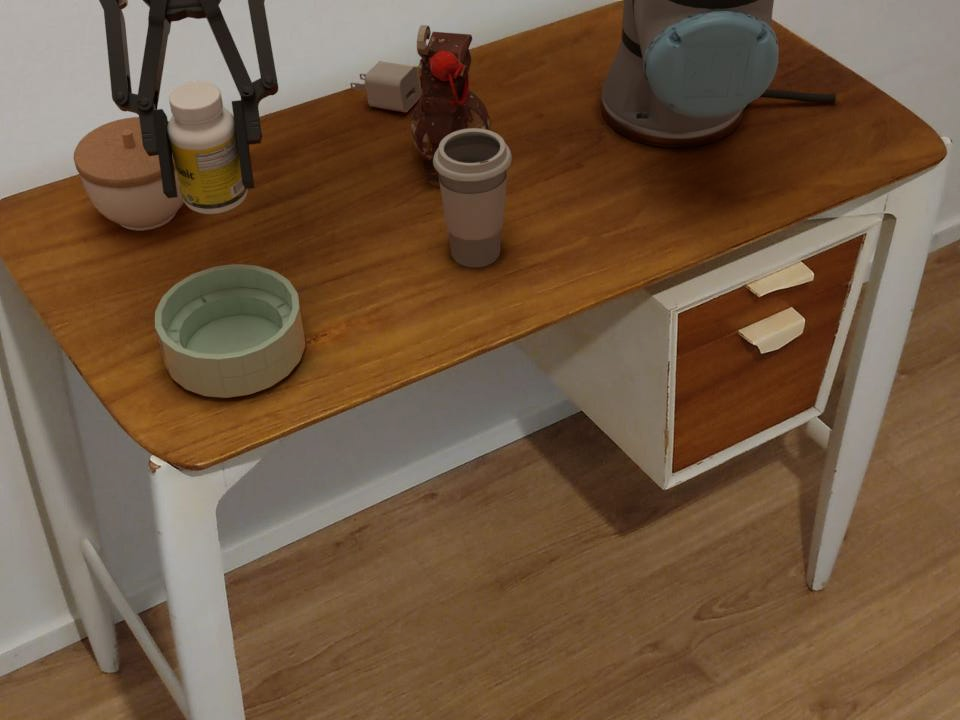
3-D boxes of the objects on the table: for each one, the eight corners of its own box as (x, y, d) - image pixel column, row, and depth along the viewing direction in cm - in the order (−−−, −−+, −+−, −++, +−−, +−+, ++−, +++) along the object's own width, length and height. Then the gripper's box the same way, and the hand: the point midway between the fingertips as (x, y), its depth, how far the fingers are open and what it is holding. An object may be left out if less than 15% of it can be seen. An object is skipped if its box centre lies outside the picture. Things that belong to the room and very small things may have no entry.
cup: (454, 283, 120) (449, 176, 112) (427, 242, 125) (420, 136, 117) (524, 262, 122) (524, 155, 114) (495, 223, 127) (493, 118, 119)
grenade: (479, 193, 130) (475, 61, 120) (401, 185, 132) (390, 54, 121) (498, 141, 137) (496, 11, 127) (423, 134, 138) (415, 5, 128)
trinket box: (177, 251, 125) (158, 170, 118) (73, 239, 127) (49, 158, 120) (216, 186, 132) (200, 106, 126) (117, 175, 134) (97, 97, 128)
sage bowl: (300, 298, 119) (293, 256, 116) (311, 390, 110) (304, 347, 107) (165, 316, 118) (155, 273, 114) (165, 411, 109) (154, 367, 106)
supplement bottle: (175, 187, 109) (152, 84, 102) (238, 171, 110) (220, 69, 103) (191, 223, 105) (168, 119, 98) (256, 206, 106) (238, 103, 100)
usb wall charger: (416, 63, 140) (421, 96, 143) (361, 55, 143) (367, 88, 146) (398, 81, 138) (404, 114, 140) (343, 73, 141) (349, 105, 143)
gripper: (289, -93, 108) (327, 184, 107) (63, -71, 106) (100, 211, 105) (285, -130, 100) (325, 167, 100) (41, -107, 98) (81, 196, 98)
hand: (209, 189), depth 103 cm, fingers closed on supplement bottle, 5 cm apart
